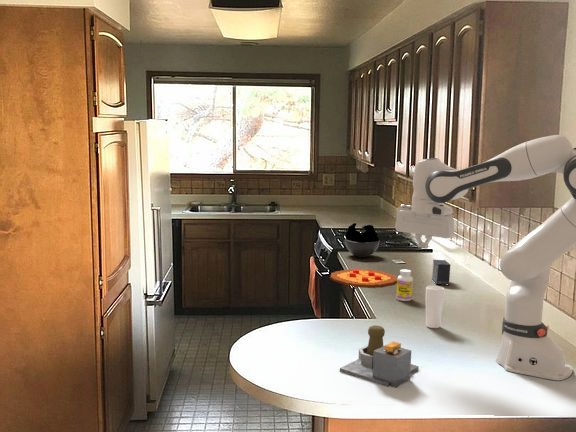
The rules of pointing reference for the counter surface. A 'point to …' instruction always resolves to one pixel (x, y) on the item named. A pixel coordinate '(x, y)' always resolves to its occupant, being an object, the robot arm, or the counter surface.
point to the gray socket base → (382, 366)
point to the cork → (375, 338)
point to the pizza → (363, 278)
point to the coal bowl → (361, 241)
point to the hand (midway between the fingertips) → (422, 248)
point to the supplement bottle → (404, 285)
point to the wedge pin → (393, 347)
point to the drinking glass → (434, 305)
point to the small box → (441, 272)
